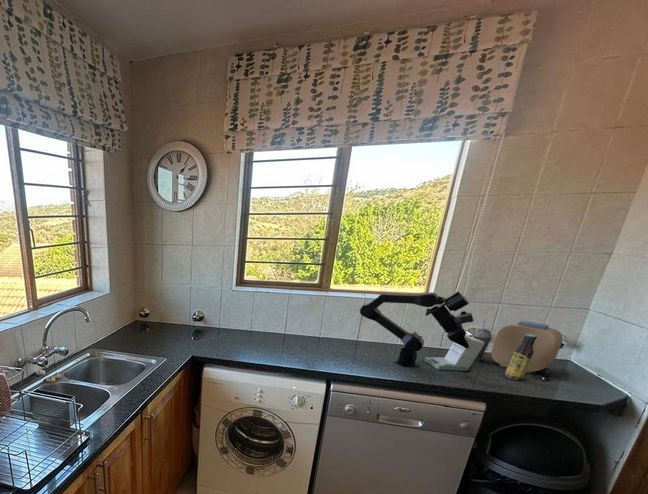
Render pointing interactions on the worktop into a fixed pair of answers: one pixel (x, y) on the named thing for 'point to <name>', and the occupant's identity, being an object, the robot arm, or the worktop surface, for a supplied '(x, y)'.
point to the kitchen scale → (443, 364)
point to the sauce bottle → (521, 358)
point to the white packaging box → (464, 352)
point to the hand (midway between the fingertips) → (466, 345)
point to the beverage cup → (483, 336)
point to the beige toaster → (543, 345)
